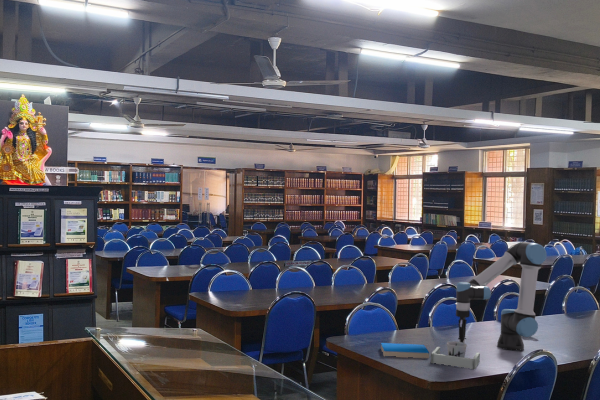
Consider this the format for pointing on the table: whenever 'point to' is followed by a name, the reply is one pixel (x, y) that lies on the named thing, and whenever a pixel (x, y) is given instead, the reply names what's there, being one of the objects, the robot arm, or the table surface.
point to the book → (404, 350)
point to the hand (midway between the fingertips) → (461, 350)
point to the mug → (456, 349)
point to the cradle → (454, 360)
